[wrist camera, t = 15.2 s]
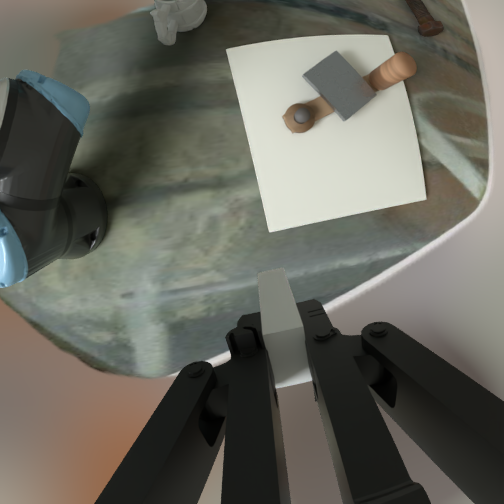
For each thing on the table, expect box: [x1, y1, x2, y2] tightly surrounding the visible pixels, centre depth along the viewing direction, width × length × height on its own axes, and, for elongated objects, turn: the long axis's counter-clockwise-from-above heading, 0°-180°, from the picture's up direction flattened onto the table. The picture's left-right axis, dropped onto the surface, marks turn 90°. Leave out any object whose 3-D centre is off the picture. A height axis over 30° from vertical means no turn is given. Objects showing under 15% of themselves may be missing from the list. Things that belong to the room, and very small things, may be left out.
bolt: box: [405, 0, 444, 37], centre depth 32 cm, size 6×5×15 cm
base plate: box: [226, 35, 426, 232], centre depth 41 cm, size 28×30×2 cm
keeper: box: [302, 50, 377, 122], centre depth 38 cm, size 9×7×5 cm
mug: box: [150, 0, 207, 45], centre depth 31 cm, size 8×12×12 cm, turn 165°
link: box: [282, 52, 417, 134], centre depth 34 cm, size 19×4×10 cm, turn 121°
